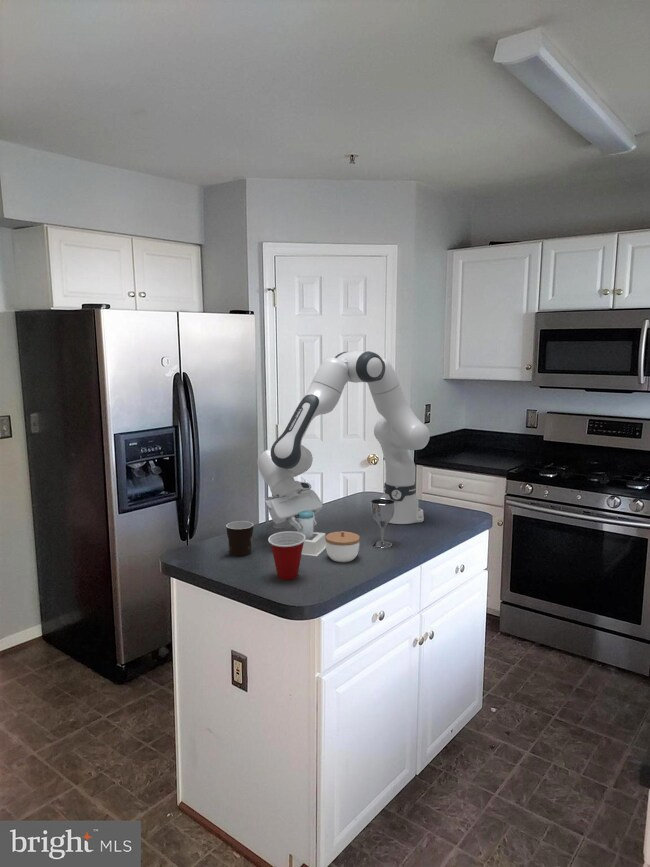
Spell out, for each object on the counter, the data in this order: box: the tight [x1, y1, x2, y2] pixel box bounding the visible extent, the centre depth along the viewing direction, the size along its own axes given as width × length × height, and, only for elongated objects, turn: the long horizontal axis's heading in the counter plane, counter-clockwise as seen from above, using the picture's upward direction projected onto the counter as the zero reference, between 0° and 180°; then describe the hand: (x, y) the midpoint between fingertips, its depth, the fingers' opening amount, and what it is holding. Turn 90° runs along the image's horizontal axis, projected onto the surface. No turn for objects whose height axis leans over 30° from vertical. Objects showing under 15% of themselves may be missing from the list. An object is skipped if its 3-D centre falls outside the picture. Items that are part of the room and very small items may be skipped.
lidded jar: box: [325, 530, 361, 563], centre depth 188 cm, size 11×11×9 cm
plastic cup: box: [267, 530, 306, 581], centre depth 175 cm, size 11×11×12 cm
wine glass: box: [370, 497, 395, 549], centre depth 203 cm, size 8×8×15 cm
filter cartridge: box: [298, 510, 314, 540], centre depth 197 cm, size 5×5×12 cm
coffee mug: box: [225, 520, 254, 558], centre depth 194 cm, size 12×9×10 cm
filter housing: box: [295, 530, 327, 557], centre depth 198 cm, size 12×12×5 cm
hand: (307, 527), depth 197 cm, fingers closed on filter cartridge, 5 cm apart
